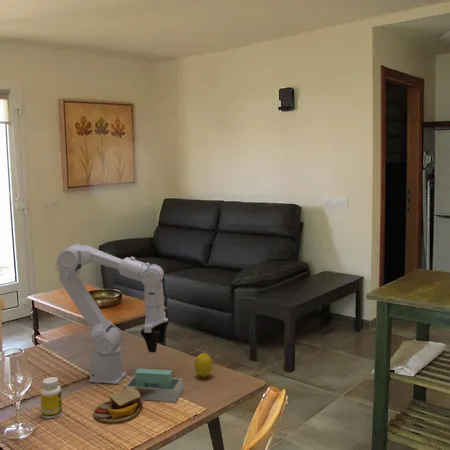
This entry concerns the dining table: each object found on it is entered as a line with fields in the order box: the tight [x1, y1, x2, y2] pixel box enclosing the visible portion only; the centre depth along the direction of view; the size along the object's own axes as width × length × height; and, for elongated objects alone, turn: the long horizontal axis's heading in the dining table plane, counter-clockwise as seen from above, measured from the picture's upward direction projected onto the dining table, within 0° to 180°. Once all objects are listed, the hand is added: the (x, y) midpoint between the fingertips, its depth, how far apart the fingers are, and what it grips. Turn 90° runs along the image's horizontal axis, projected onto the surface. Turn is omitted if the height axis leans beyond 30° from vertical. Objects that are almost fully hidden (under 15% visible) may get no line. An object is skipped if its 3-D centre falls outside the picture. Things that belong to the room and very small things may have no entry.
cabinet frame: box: [123, 374, 184, 403], centre depth 153 cm, size 15×8×4 cm, turn 80°
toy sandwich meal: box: [93, 387, 144, 424], centre depth 143 cm, size 12×14×5 cm
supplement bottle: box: [39, 376, 63, 419], centre depth 142 cm, size 5×5×10 cm
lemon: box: [194, 352, 213, 378], centre depth 164 cm, size 6×6×8 cm
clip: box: [134, 367, 174, 389], centre depth 153 cm, size 10×3×6 cm, turn 80°
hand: (156, 347), depth 162 cm, fingers open, 7 cm apart
